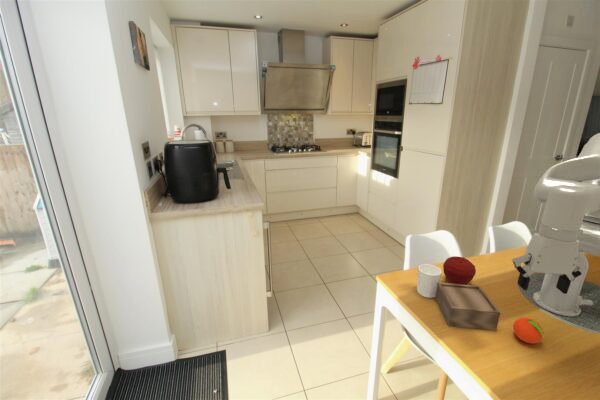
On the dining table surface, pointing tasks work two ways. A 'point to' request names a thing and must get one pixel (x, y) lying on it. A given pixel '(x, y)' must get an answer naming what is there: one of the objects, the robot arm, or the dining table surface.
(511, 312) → the dining table surface
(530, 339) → the clementine
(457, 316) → the walnut stand
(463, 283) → the apple
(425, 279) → the white cup
